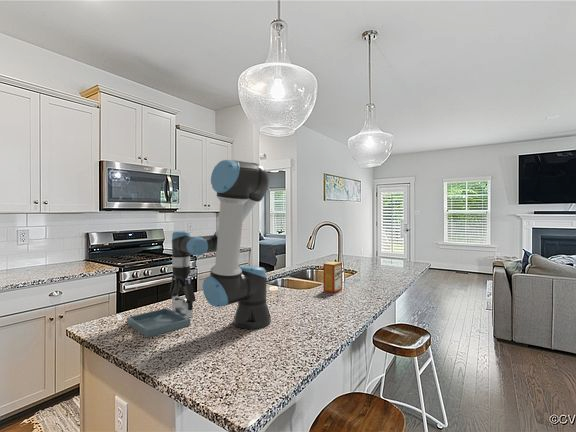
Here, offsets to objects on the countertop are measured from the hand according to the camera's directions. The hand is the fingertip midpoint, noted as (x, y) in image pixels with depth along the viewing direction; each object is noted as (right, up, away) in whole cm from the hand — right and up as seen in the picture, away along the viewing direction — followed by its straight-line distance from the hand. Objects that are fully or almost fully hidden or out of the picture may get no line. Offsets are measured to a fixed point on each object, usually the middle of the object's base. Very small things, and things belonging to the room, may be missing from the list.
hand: (182, 313), depth 144 cm
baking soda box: (+73, +1, +39) cm, 83 cm away
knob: (0, 0, 0) cm, 0 cm away
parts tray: (-6, -1, -13) cm, 14 cm away
